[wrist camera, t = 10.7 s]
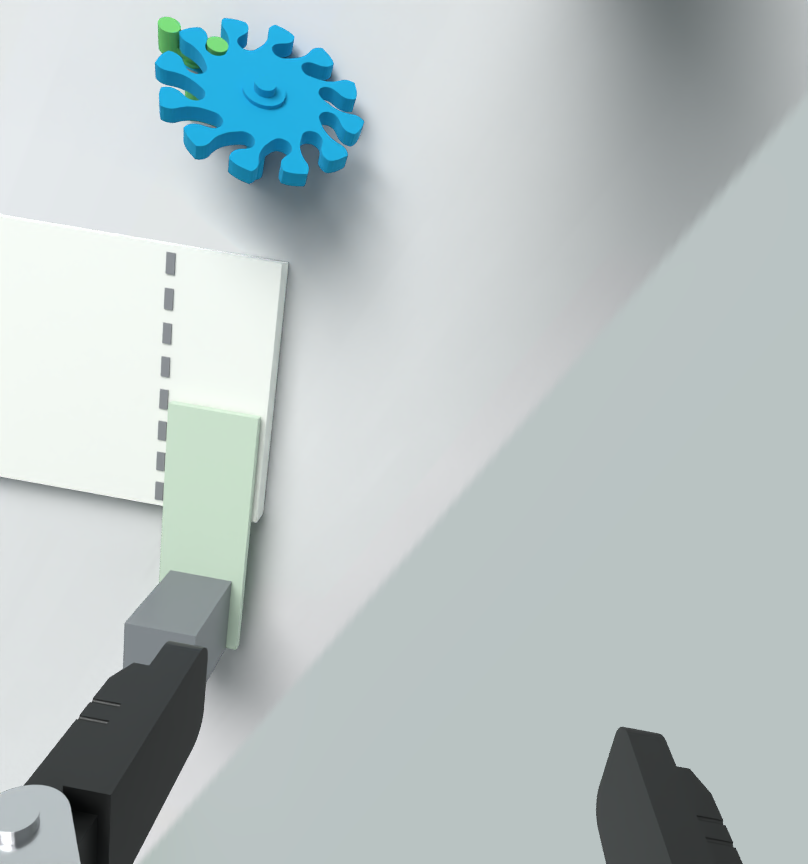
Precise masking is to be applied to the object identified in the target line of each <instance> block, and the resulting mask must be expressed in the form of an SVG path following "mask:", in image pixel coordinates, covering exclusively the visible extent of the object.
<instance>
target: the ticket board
mask: <svg viewBox="0 0 808 864" xmlns="http://www.w3.org/2000/svg"><path fill="white" fill-rule="evenodd" d="M288 265H289V262H283V261H277V260H271V259H265V258H259V257H253V256H247V255H241V254H235V253H229V252H223V251H217V250H211V249H205V248H199V247H193V246H187V245H181V244H175V243H169V242H163V241H157V240H151V239H145V238H139V237H133V236H128V235H122V234H116V233H110V232H104V231H98V230H92V229H86V228H80V227H74V226H68V225H62V224H56V223H50V222H44V221H38V220H32V219H26V218H20V217H14V216H8V215H2V214H0V477H5V478H11V479H16V480H22V481H27V482H33V483H39V484H44V485H50V486H55V487H61V488H66V489H72V490H77V491H83V492H88V493H94V494H99V495H105V496H110V497H116V498H122V499H127V500H133V501H138V502H144V503H149V504H155V505H160V506H163V497H164V477H165V458H166V439H167V420H168V403H169V402H171V401H177V402H183V403H189V404H194V405H200V406H206V407H211V408H217V409H223V410H228V411H234V412H240V413H246V414H251V415H257V416H261V422H260V433H259V443H258V454H257V464H256V475H255V485H254V495H253V506H252V516H251V522H254V523H257V521H258V520H259V519H260V517H261V516H262V514H263V511H264V501H265V491H266V481H267V471H268V462H269V452H270V442H271V432H272V422H273V412H274V403H275V393H276V383H277V373H278V363H279V353H280V344H281V334H282V324H283V314H284V304H285V294H286V285H287V275H288Z"/></svg>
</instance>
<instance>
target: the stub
mask: <svg viewBox="0 0 808 864" xmlns="http://www.w3.org/2000/svg"><path fill="white" fill-rule="evenodd" d="M260 422H261V416H257V415H251V414H246V413H240V412H234V411H228V410H223V409H217V408H211V407H206V406H200V405H194V404H189V403H183V402H177V401H171V402H169V403H168V420H167V439H166V458H165V477H164V497H163V516H162V535H161V554H160V574H159V584H158V585H157V586H156V587H155V589H154V590H153V591H152V592H151V593H150V594H149V596H148V597H147V598H146V599H145V600H144V601H143V603H142V604H141V605H140V606H139V607H138V608H137V609H136V611H135V612H134V613H133V614H132V615H131V616H130V618H129V619H128V620H127V621H126V622H125V628H124V656H123V669H124V668H126V667H127V666H129V665H130V664H132V663H133V662H134V663H139V664H144V665H150V664H151V662H152V661H153V659H154V658H155V657H156V655H157V654H158V653H159V651H160V650H161V648H162V647H163V646H164V644H165V643H166V642H168V641H174V642H179V643H185V644H190V645H195V646H201V647H206V648H207V650H208V663H207V675H206V682H207V680H208V679H209V677H210V675H211V673H212V672H213V670H214V668H215V666H216V664H217V663H218V661H219V659H220V657H221V656H222V654H223V652H224V650H225V649H226V648H229V649H234V650H236V649H237V648H238V646H239V641H240V631H241V620H242V610H243V599H244V589H245V579H246V568H247V558H248V547H249V537H250V527H251V516H252V506H253V495H254V485H255V475H256V464H257V454H258V443H259V433H260Z"/></svg>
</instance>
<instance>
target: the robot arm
mask: <svg viewBox="0 0 808 864" xmlns="http://www.w3.org/2000/svg"><path fill="white" fill-rule="evenodd" d="M207 663H208V650H207V648H206V647H201V646H195V645H190V644H185V643H179V642H174V641H168V642H166V643H165V644H164V646H163V647H162V648H161V650H160V651H159V653H158V654H157V655H156V657H155V658H154V659H153V661H152V662H151V664H150V665H144V664H139V663H134V662H133V663H132V664H130V665H129V666H127V667H126V668H124V669H122V670H121V671H119V672H118V673H116V674H115V675H113V676H111V677H110V678H109V679H108V680H107V681H106V683H105V684H104V685H103V686H102V688H101V689H100V690H99V691H98V693H97V694H96V695H95V696H94V698H93V701H92V703H91V702H90V703H89V704H88V705H87V707H86V708H85V709H84V710H83V712H82V713H81V714H80V717H79V719H78V720H77V719H76V720H75V722H74V723H73V724H72V725H71V727H70V728H69V729H68V731H67V732H66V733H65V734H64V736H63V737H62V738H61V739H60V741H59V742H58V743H57V744H56V746H55V747H54V748H53V749H52V751H51V752H50V753H49V755H48V756H47V757H46V758H45V760H44V761H43V762H42V763H41V765H40V766H39V767H38V768H37V770H36V771H35V772H34V773H33V775H32V776H31V777H30V778H29V780H28V781H27V782H26V783H25V785H24V786H20V787H16V788H12V789H9V790H6V791H4V792H2V793H0V864H133V862H134V860H135V858H136V856H137V855H138V853H139V851H140V849H141V847H142V845H143V843H144V841H145V839H146V837H147V835H148V833H149V831H150V830H151V828H152V826H153V824H154V822H155V820H156V818H157V816H158V814H159V812H160V810H161V808H162V806H163V805H164V803H165V801H166V799H167V797H168V795H169V793H170V791H171V789H172V787H173V785H174V783H175V781H176V780H177V778H178V776H179V774H180V772H181V770H182V768H183V766H184V764H185V762H186V760H187V758H188V756H189V755H190V753H191V751H192V749H193V747H194V745H195V742H196V740H197V737H198V734H199V731H200V727H201V723H202V718H203V712H204V700H205V688H206V675H207ZM596 816H597V825H598V830H599V834H600V839H601V843H602V847H603V852H604V855H605V860H606V864H743V863H742V861H741V860H740V857H739V854H738V852H737V850H736V848H733V841H732V839H731V837H730V835H729V832H728V830H727V828H726V826H725V825H723V819H722V817H721V814H720V812H719V810H718V808H717V806H716V804H715V801H714V799H713V797H712V794H711V793H710V792H709V791H708V790H707V788H706V787H705V786H704V785H703V784H702V783H701V781H700V780H699V779H698V778H697V777H696V776H695V774H694V773H693V772H692V771H691V770H690V769H688V768H682V767H677V766H676V764H675V762H674V759H673V757H672V755H671V752H670V750H669V747H668V745H667V742H666V740H665V738H664V737H663V736H662V735H661V734H658V733H653V732H647V731H642V730H637V729H631V728H626V727H620V728H619V729H618V730H617V732H616V735H615V738H614V741H613V744H612V747H611V751H610V753H609V757H608V760H607V763H606V766H605V770H604V773H603V776H602V779H601V783H600V786H599V789H598V794H597V803H596Z"/></svg>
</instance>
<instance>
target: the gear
mask: <svg viewBox="0 0 808 864" xmlns="http://www.w3.org/2000/svg"><path fill="white" fill-rule="evenodd" d="M247 37H248V25H247V24H246V23H245V22H242V21H239V20H235V19H228V18H224V19H223V20H222V24H221V38H220V37H216V36H214V37H210V38H208V37H207V34H206V32H205V31H204V30H203V29H202V28H198V27H194V28H188V29H184V30H181V26H180V23H179V22H178V21H177V20H175V19H173V18H170V17H162V18H160V19H159V20H158V43H159V50H160V51H161V52H162V53H163V54H162V55H161V56H160V57H159V58H158V59H157V61H156V62H155V74H156V79H157V80H158V81H159V82H161V83H163V84H165V85H169V86H174V87H178V88H181V89H183V90H185V96H184V95H183V94H182V93H181V92H180V91H178V90H176V89H174V88H171V87H161V89H160V92H159V107H160V118H161V120H163V121H165V122H169V123H176V122H180V121H199V122H203V123H207V124H210V125H213V126H215V127H217V128H209V127H206V126H203V125H200V124H189V125H186V126H185V127H184V145H185V147H186V149H187V150H188V151H189V153H190V154H191V155H192V156H193V157H194V158H195V159H198V160H200V159H205V158H207V157H209V156H210V154H211V153H212V152H214V151H215V150H217V149H219V148H221V147H224V146H229V145H245V146H247V148H246V149H237V150H234V151H233V152H232V153H231V154H230V156H229V167H228V172H229V173H230V174H231V175H232V176H234V177H235V178H237V179H239V180H241V181H243V182H246V183H248V184H250V183H252V182H254V181H255V180H258V179H260V178H261V177H262V174H263V168H264V161H265V156H267V155H268V154H270V153H271V152H274V151H279V152H282V153H284V154H286V155H287V156H286V157H284V158H283V159H282V161H281V166H280V171H279V180H280V182H281V183H283V184H285V185H290V186H305V184H306V180H307V175H308V171H309V166H308V164H307V162H306V161H305V160H304V158H303V156H302V154H301V150H300V146H301V145H303V144H311V145H314V146H315V147H316V148H317V149H318V150H319V153H320V155H319V160H318V164H319V167H320V168H321V170H322V171H324V172H325V173H332V172H335V171H338V170H340V169H342V168H344V166H345V163H346V160H347V156H348V153H347V151H346V149H345V148H344V147H343V146H342V145H340V144H339V143H337V142H336V141H334V140H333V139H332V138H331V137H330V136H329V135H328V134H327V133H326V132H325V130H324V129H323V127H322V125H327V126H330V127H331V128H333V129H334V131H335V132H336V134H337V137H338V139H339V140H340V141H341V142H342V143H343V144H345V145H347V146H353V145H354V144H355V143H356V142H357V140H358V139H359V136H360V134H361V130H362V127H363V124H364V121H363V120H362V119H361V118H360V117H358V116H356V115H354V114H348V113H345V112H352V110H353V107H354V103H355V100H356V96H357V91H356V87H355V83H353V82H351V81H348V80H341V81H335V82H329V81H322V80H327V79H329V78H330V77H331V73H332V68H333V64H334V63H333V61H332V59H331V57H330V56H329V55H328V54H327V53H326V52H325V51H324V50H323V48H314V49H312V50H311V51H310V52H309V53H308V54H307V55H305V56H303V57H299V58H288V59H285V58H281V57H288V56H290V55H291V53H292V48H293V42H294V36H293V35H292V34H291V33H290V32H288V31H287V30H285V29H283V28H281V27H279V26H277V25H273V26H271V27H270V28H269V32H268V39H267V41H266V42H265V44H264V45H262V46H261V47H259V48H257V49H256V50H252V51H249V50H245V49H243V48H245V47H246V45H247ZM324 100H326V101H329V102H330V103H332V104H333V105H334V106H335V107H337V108H338V109H339V110H341V111H339V110H337V109H335V108H334V107H332V106H331V105H329V104H328V103H327V102H325V101H324ZM342 111H344V112H342Z"/></svg>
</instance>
